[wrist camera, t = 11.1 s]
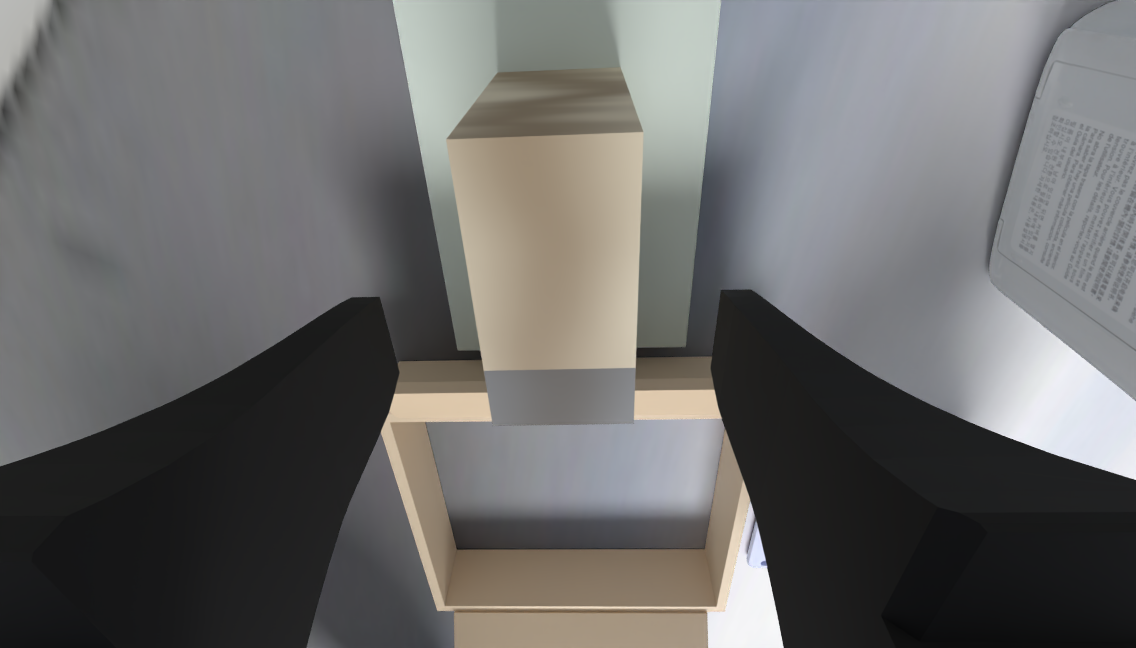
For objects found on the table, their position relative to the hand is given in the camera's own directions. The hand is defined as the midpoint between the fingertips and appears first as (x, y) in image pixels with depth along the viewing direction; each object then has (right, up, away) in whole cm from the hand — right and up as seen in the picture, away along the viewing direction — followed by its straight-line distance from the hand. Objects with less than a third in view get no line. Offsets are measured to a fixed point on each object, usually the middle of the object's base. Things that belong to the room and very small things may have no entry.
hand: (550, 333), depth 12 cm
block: (0, +5, +8) cm, 10 cm away
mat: (0, +6, +8) cm, 10 cm away
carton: (+1, -8, +17) cm, 19 cm away
